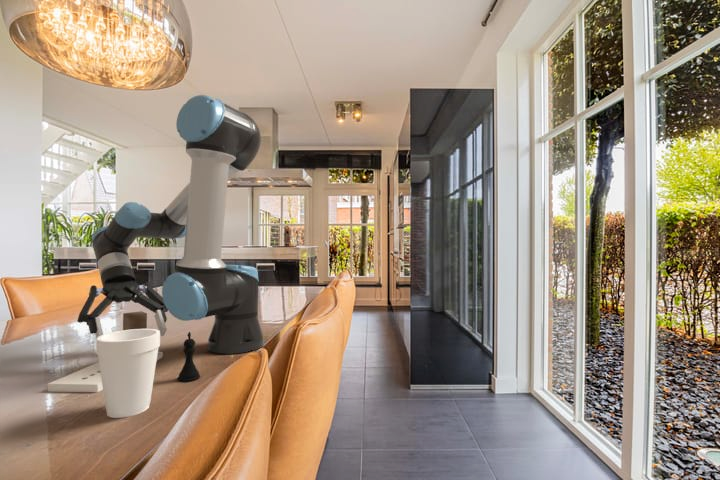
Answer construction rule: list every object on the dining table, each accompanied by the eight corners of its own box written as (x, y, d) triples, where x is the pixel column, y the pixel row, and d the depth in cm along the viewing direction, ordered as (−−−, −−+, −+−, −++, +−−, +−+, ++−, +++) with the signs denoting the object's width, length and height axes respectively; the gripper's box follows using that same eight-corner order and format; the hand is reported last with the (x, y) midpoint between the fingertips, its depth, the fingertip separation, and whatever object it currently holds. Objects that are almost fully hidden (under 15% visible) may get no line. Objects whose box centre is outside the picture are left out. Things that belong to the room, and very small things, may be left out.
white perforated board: (162, 357, 93) (162, 351, 93) (97, 392, 71) (97, 384, 71) (124, 357, 93) (124, 350, 93) (47, 391, 71) (47, 383, 71)
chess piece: (175, 383, 75) (175, 335, 76) (180, 375, 80) (181, 330, 80) (197, 381, 76) (198, 333, 77) (201, 374, 81) (202, 329, 81)
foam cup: (117, 398, 68) (117, 329, 68) (168, 397, 68) (169, 328, 69) (82, 423, 58) (83, 342, 58) (142, 421, 59) (143, 341, 59)
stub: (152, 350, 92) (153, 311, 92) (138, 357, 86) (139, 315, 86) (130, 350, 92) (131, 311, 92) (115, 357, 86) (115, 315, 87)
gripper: (161, 279, 110) (181, 337, 100) (56, 285, 92) (67, 357, 81) (169, 262, 107) (190, 320, 97) (60, 265, 88) (73, 338, 78)
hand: (134, 337), depth 89 cm, fingers open, 13 cm apart
